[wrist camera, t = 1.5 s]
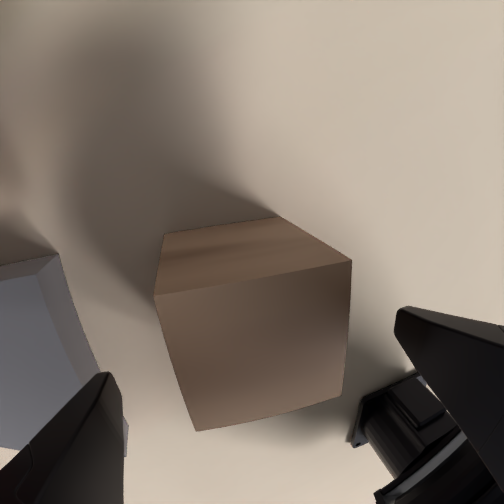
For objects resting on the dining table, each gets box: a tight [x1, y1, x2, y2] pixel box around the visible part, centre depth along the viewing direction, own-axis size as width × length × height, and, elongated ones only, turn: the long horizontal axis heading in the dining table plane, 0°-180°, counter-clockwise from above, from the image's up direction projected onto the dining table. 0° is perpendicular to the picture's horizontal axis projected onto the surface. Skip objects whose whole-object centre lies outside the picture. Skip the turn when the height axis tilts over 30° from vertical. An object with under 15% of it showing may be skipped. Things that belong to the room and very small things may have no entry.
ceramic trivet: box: [0, 254, 129, 457], centre depth 11 cm, size 11×11×2 cm
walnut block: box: [153, 217, 352, 431], centre depth 11 cm, size 5×5×6 cm
